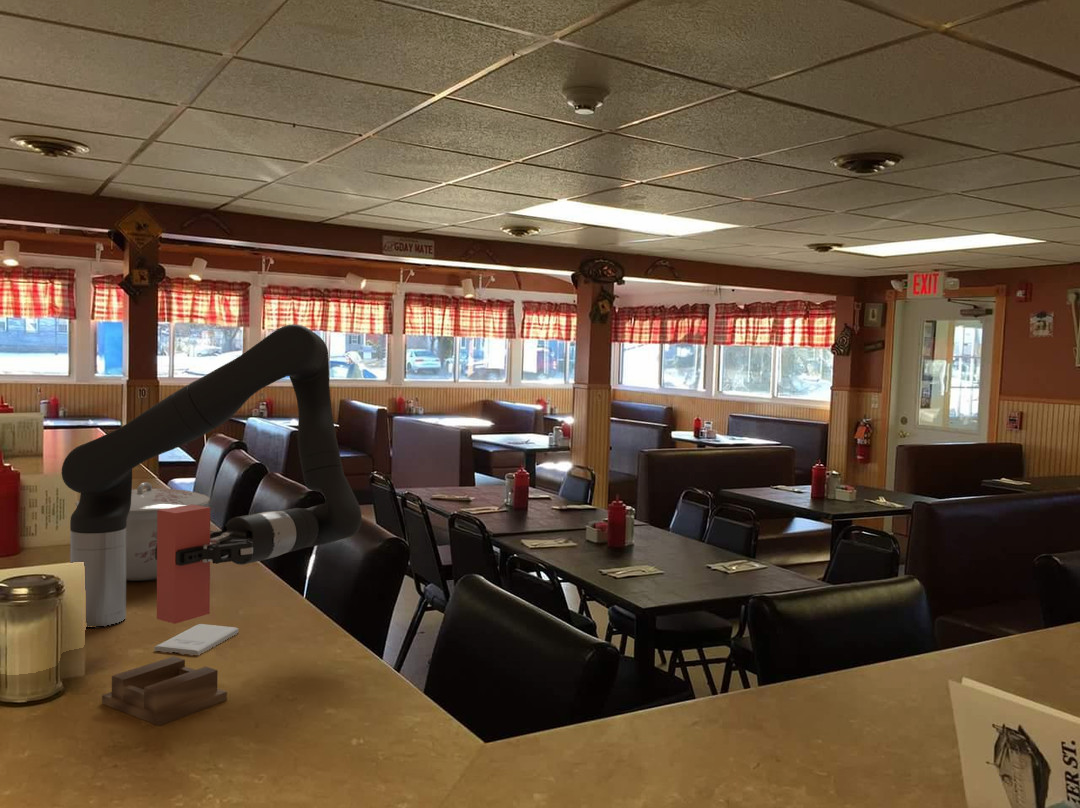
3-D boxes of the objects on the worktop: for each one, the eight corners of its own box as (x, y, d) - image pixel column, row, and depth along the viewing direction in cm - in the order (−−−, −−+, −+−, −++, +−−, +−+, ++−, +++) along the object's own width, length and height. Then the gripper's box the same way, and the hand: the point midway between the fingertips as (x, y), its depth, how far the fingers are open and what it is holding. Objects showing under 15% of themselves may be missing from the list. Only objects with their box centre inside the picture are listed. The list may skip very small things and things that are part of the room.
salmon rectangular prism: (156, 618, 126) (157, 509, 125) (191, 609, 131) (192, 504, 130) (174, 623, 124) (175, 513, 123) (209, 613, 129) (210, 507, 128)
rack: (102, 703, 123) (102, 674, 123) (170, 680, 133) (170, 653, 133) (159, 725, 117) (159, 695, 116) (226, 699, 126) (227, 671, 126)
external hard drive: (238, 636, 156) (198, 659, 144) (197, 632, 157) (154, 654, 145) (238, 627, 156) (198, 649, 144) (197, 623, 157) (154, 644, 145)
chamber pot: (90, 597, 175) (90, 495, 174) (63, 568, 197) (63, 478, 195) (229, 578, 193) (230, 486, 192) (190, 554, 214) (191, 471, 213)
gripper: (230, 508, 143) (135, 524, 128) (292, 518, 136) (200, 536, 121) (229, 553, 143) (135, 574, 128) (291, 566, 136) (199, 589, 121)
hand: (167, 555), depth 125 cm, fingers closed on salmon rectangular prism, 4 cm apart
